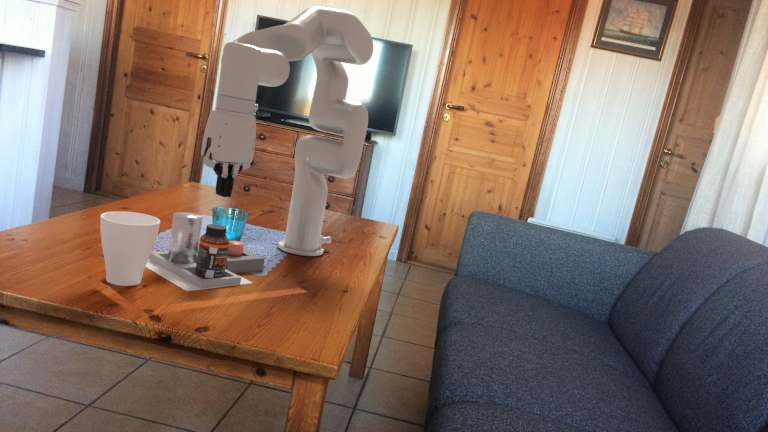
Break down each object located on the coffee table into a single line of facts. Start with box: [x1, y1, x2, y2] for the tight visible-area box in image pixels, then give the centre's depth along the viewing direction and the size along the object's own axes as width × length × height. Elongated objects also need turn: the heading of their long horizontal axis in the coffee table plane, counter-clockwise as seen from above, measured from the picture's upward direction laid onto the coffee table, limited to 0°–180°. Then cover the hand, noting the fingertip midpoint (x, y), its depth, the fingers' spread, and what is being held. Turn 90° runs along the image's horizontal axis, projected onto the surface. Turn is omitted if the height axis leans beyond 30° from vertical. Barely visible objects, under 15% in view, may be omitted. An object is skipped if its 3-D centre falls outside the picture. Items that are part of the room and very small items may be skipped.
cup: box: [99, 210, 161, 290], centre depth 117 cm, size 10×10×14 cm
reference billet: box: [168, 211, 204, 264], centre depth 133 cm, size 6×6×11 cm
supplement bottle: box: [195, 223, 230, 279], centre depth 127 cm, size 6×6×11 cm
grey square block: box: [225, 248, 266, 274], centre depth 141 cm, size 10×10×4 cm
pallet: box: [145, 251, 254, 292], centre depth 131 cm, size 16×20×3 cm
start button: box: [227, 240, 245, 257], centre depth 140 cm, size 4×4×3 cm
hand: (223, 195), depth 127 cm, fingers closed
